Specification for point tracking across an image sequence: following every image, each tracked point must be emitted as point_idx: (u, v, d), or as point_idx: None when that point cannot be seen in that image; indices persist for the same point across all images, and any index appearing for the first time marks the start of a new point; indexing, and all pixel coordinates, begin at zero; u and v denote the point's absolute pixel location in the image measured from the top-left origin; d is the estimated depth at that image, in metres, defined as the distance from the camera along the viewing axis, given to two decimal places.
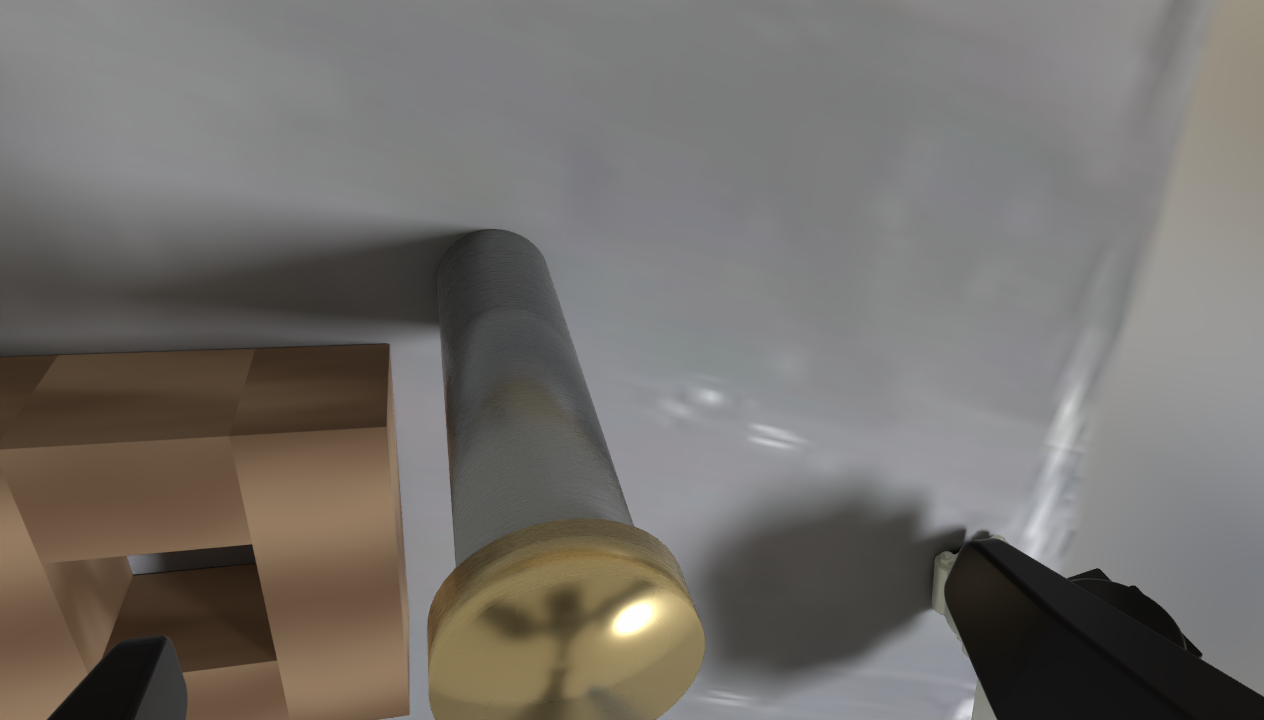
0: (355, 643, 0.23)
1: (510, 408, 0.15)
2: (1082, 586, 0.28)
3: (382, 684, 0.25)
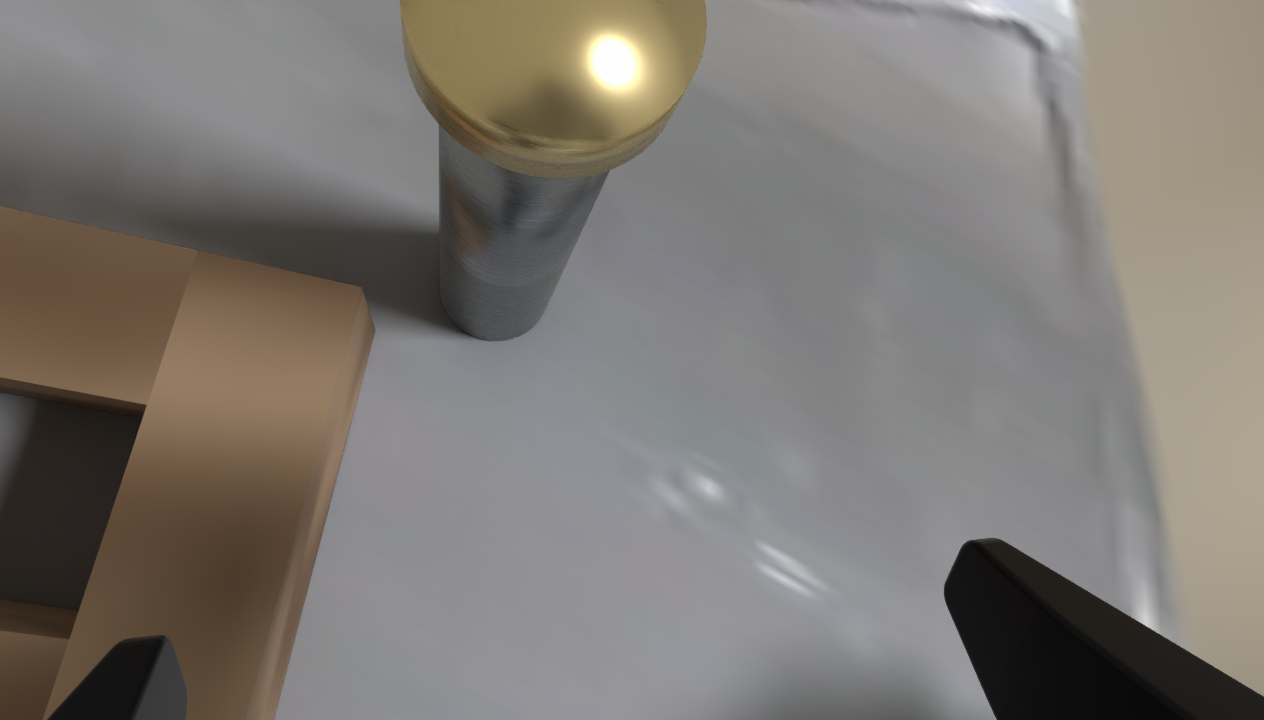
0: (192, 638, 0.16)
1: None
2: None
3: None
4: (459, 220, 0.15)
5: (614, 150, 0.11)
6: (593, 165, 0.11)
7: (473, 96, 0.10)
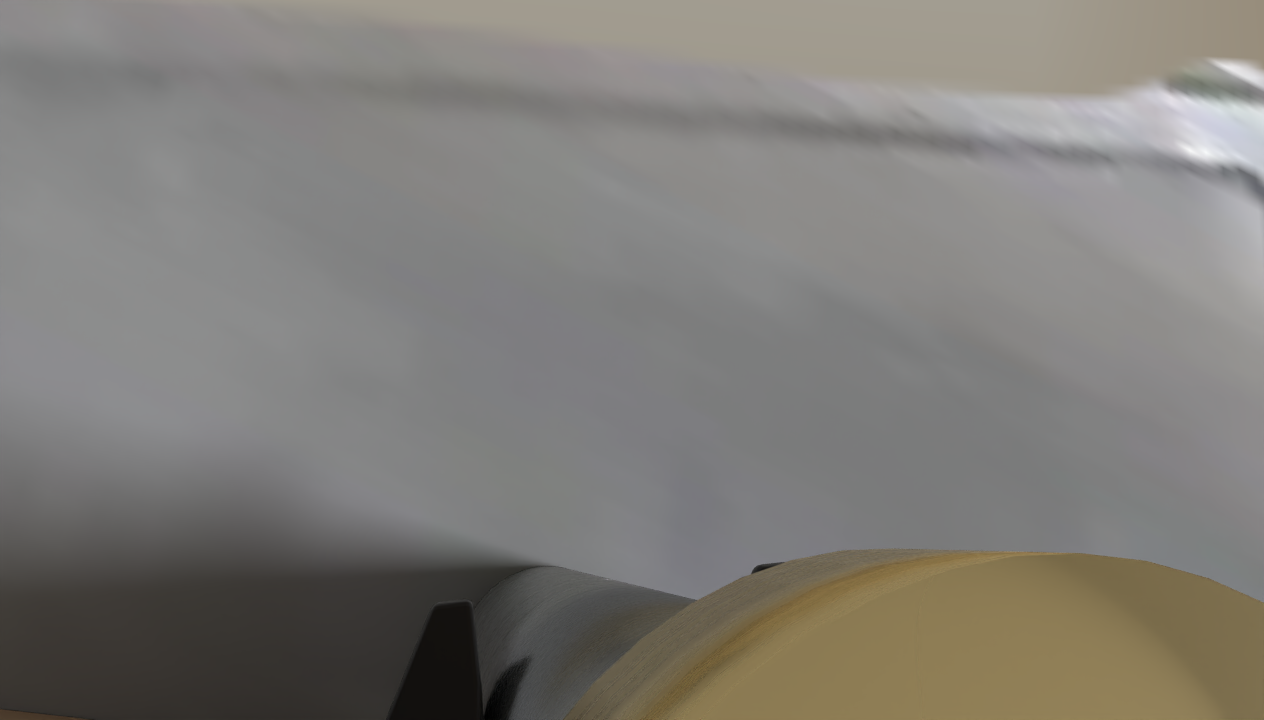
0: None
1: (652, 600, 0.07)
2: None
3: None
4: None
5: None
6: None
7: None
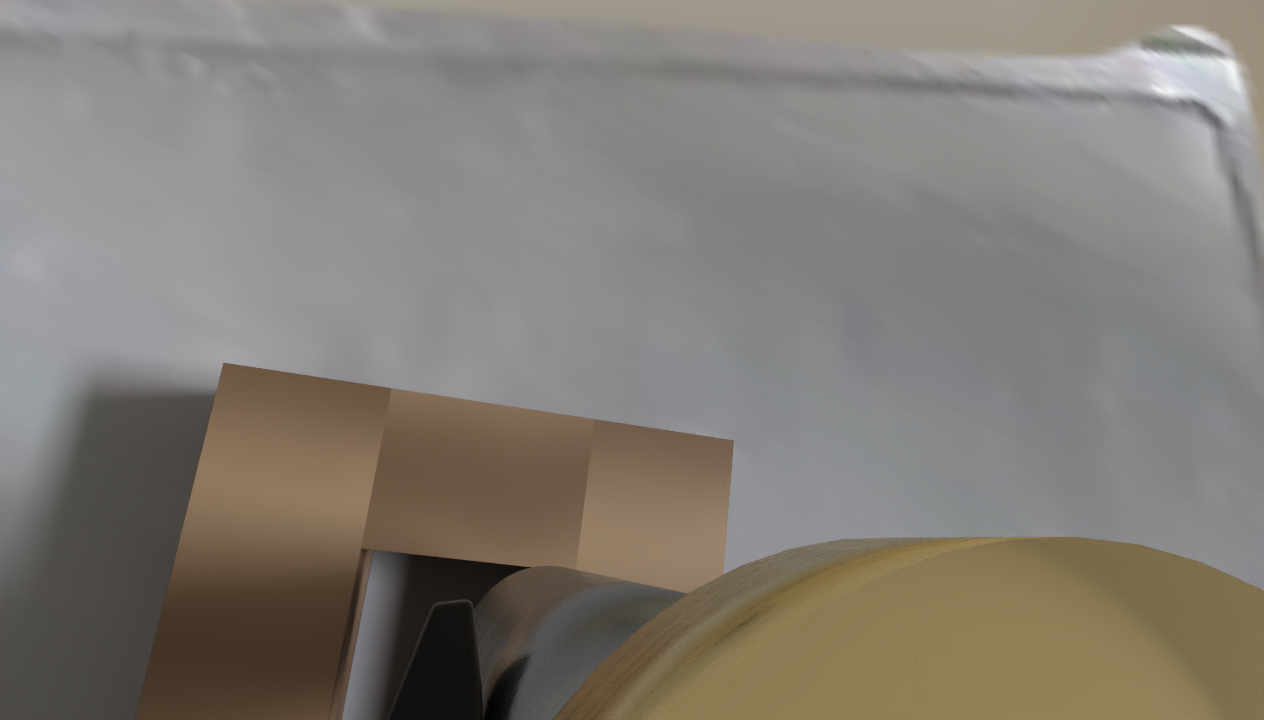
0: None
1: (652, 595, 0.07)
2: None
3: None
4: None
5: None
6: None
7: None
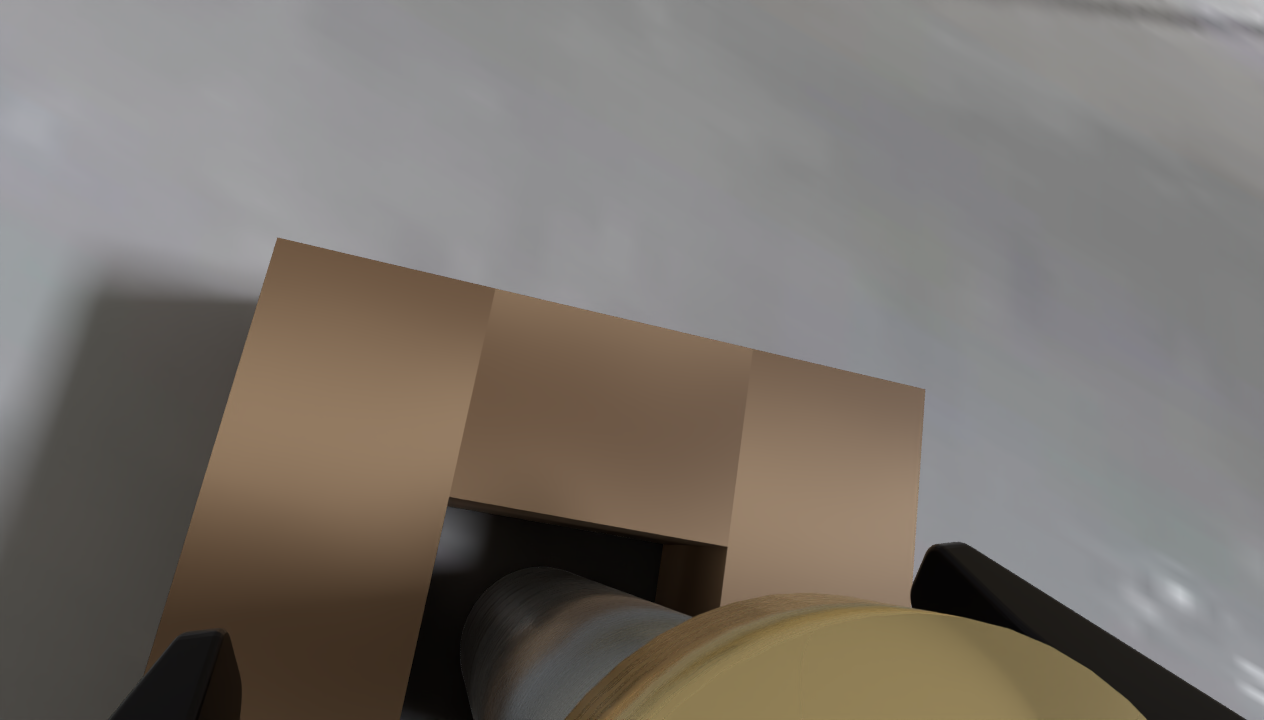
0: None
1: (633, 612, 0.08)
2: None
3: None
4: None
5: None
6: None
7: None
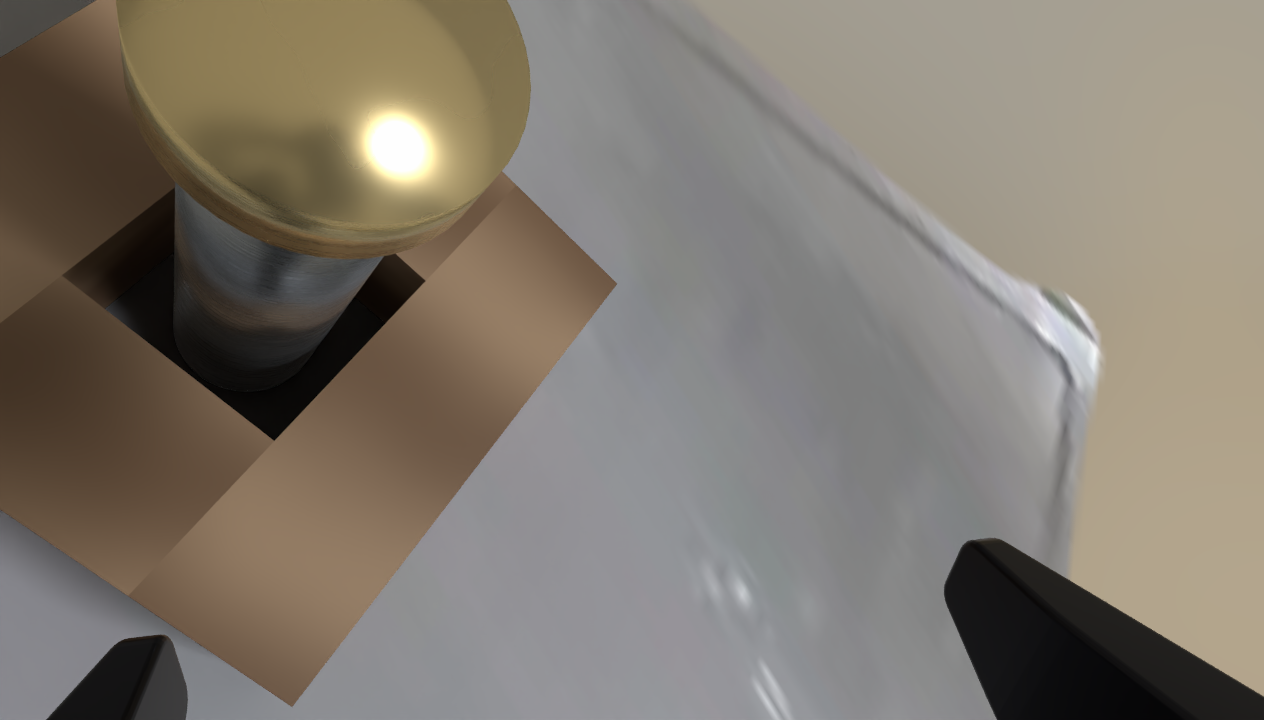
0: (371, 496, 0.16)
1: None
2: None
3: (325, 602, 0.15)
4: (177, 228, 0.12)
5: (318, 235, 0.08)
6: (288, 239, 0.08)
7: (151, 73, 0.07)
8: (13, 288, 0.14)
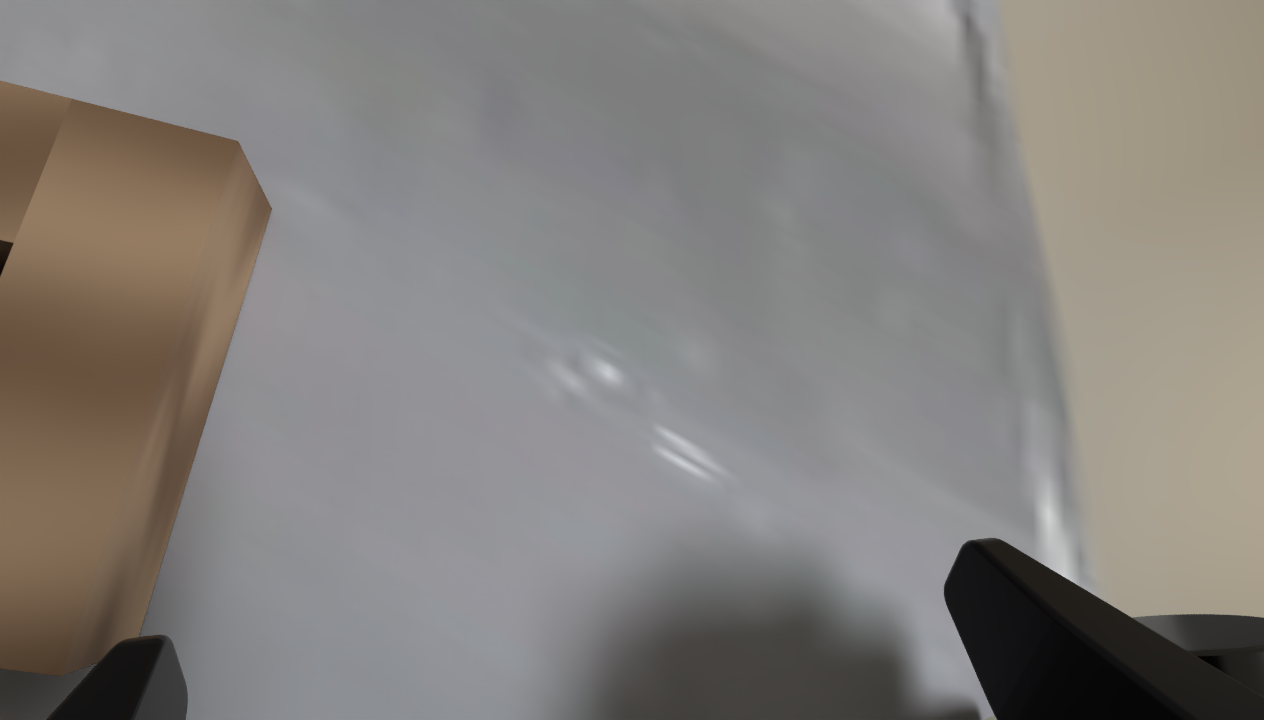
0: (53, 466, 0.16)
1: None
2: None
3: (50, 577, 0.16)
4: None
5: None
6: None
7: None
8: None
